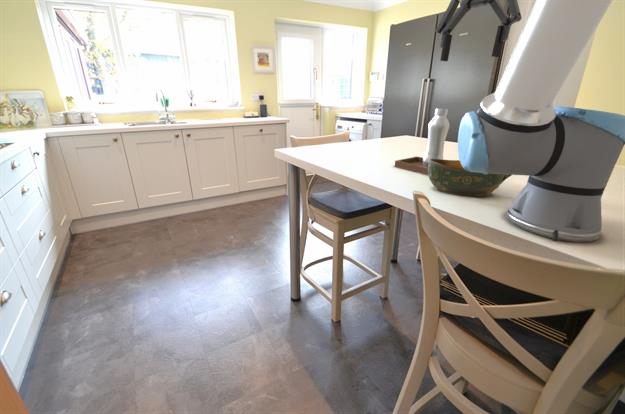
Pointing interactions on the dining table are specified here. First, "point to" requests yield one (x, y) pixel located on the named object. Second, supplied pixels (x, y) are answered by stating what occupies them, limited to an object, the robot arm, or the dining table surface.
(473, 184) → the green patterned bowl
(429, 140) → the plastic bottle
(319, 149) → the dining table surface
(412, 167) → the tray
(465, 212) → the dining table surface
